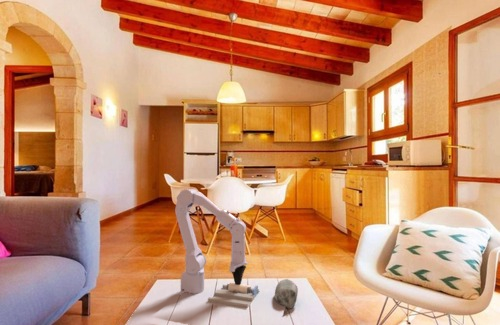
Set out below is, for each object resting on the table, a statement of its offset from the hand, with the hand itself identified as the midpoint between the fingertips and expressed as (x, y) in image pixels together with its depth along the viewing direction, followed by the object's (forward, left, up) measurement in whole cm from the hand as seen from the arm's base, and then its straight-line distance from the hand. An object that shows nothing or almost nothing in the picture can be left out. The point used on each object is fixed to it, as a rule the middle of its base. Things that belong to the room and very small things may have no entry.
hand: (237, 284), depth 124 cm
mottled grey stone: (+20, +1, -5) cm, 21 cm away
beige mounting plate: (0, -4, -5) cm, 6 cm away
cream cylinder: (0, 0, -4) cm, 4 cm away
